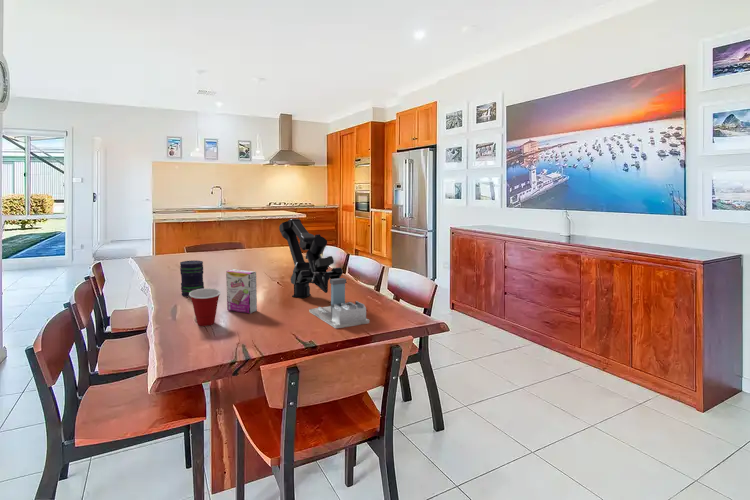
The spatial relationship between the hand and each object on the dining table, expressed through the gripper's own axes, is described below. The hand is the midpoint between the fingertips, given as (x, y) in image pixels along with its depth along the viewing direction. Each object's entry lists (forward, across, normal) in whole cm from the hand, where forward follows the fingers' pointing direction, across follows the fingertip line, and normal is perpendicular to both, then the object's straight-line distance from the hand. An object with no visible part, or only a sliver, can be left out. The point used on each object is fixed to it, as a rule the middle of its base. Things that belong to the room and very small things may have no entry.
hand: (326, 292), depth 178 cm
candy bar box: (-5, -30, +17) cm, 35 cm away
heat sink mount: (+13, 0, -2) cm, 13 cm away
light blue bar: (+13, 0, -5) cm, 14 cm away
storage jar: (-32, -43, +44) cm, 69 cm away
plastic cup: (+2, -46, +9) cm, 47 cm away
